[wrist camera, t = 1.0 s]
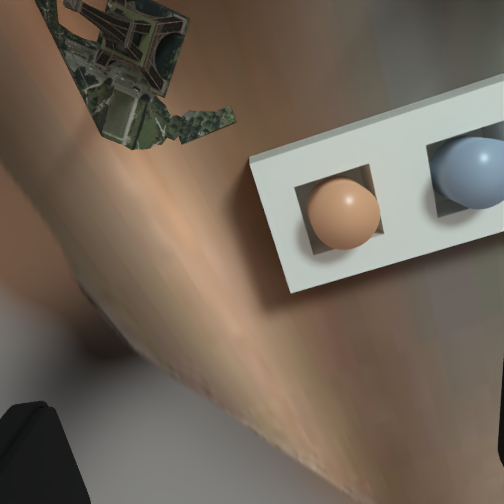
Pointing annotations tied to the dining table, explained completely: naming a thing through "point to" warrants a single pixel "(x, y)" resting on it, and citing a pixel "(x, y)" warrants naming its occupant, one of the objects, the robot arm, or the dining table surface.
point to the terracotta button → (342, 212)
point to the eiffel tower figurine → (130, 71)
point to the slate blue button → (470, 171)
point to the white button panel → (380, 184)
